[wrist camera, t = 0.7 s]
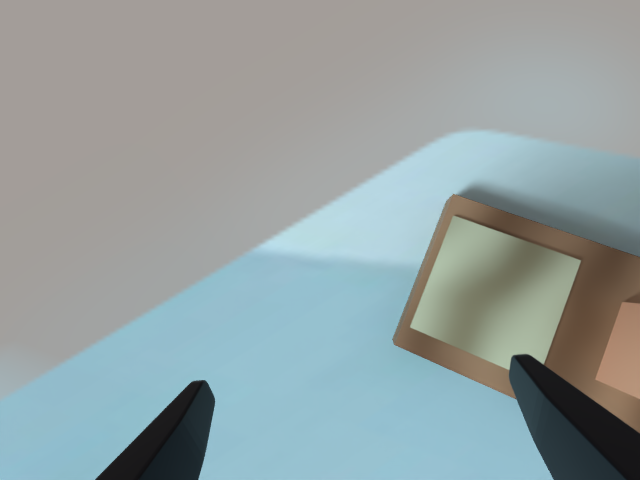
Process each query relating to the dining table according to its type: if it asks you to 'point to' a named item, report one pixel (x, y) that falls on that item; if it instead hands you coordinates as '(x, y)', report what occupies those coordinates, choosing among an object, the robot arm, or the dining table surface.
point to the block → (623, 352)
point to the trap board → (518, 301)
